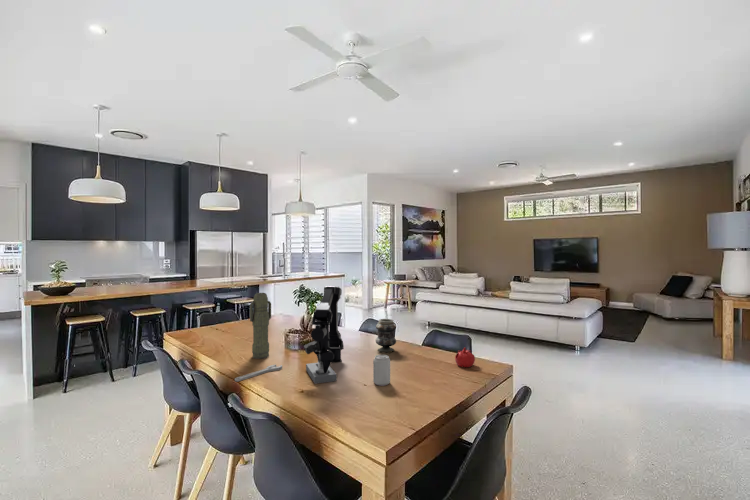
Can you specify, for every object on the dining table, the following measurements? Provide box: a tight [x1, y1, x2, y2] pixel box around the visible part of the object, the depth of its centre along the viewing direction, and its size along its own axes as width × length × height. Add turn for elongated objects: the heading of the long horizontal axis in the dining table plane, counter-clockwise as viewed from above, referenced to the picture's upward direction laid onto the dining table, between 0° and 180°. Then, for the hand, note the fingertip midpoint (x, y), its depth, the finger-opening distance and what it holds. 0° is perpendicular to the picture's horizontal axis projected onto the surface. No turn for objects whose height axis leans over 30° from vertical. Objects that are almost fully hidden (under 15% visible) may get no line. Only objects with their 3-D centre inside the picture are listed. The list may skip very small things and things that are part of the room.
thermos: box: [249, 292, 272, 360], centre depth 207 cm, size 9×12×35 cm
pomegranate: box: [454, 347, 476, 368], centre depth 191 cm, size 10×10×9 cm
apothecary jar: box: [375, 318, 397, 353], centre depth 219 cm, size 12×12×18 cm
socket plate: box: [305, 362, 338, 385], centre depth 177 cm, size 10×20×3 cm, turn 21°
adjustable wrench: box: [234, 363, 283, 382], centre depth 179 cm, size 25×6×2 cm, turn 138°
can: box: [372, 354, 391, 387], centre depth 166 cm, size 8×8×12 cm
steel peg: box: [317, 359, 328, 375], centre depth 172 cm, size 4×4×8 cm
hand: (322, 369), depth 172 cm, fingers open, 9 cm apart
